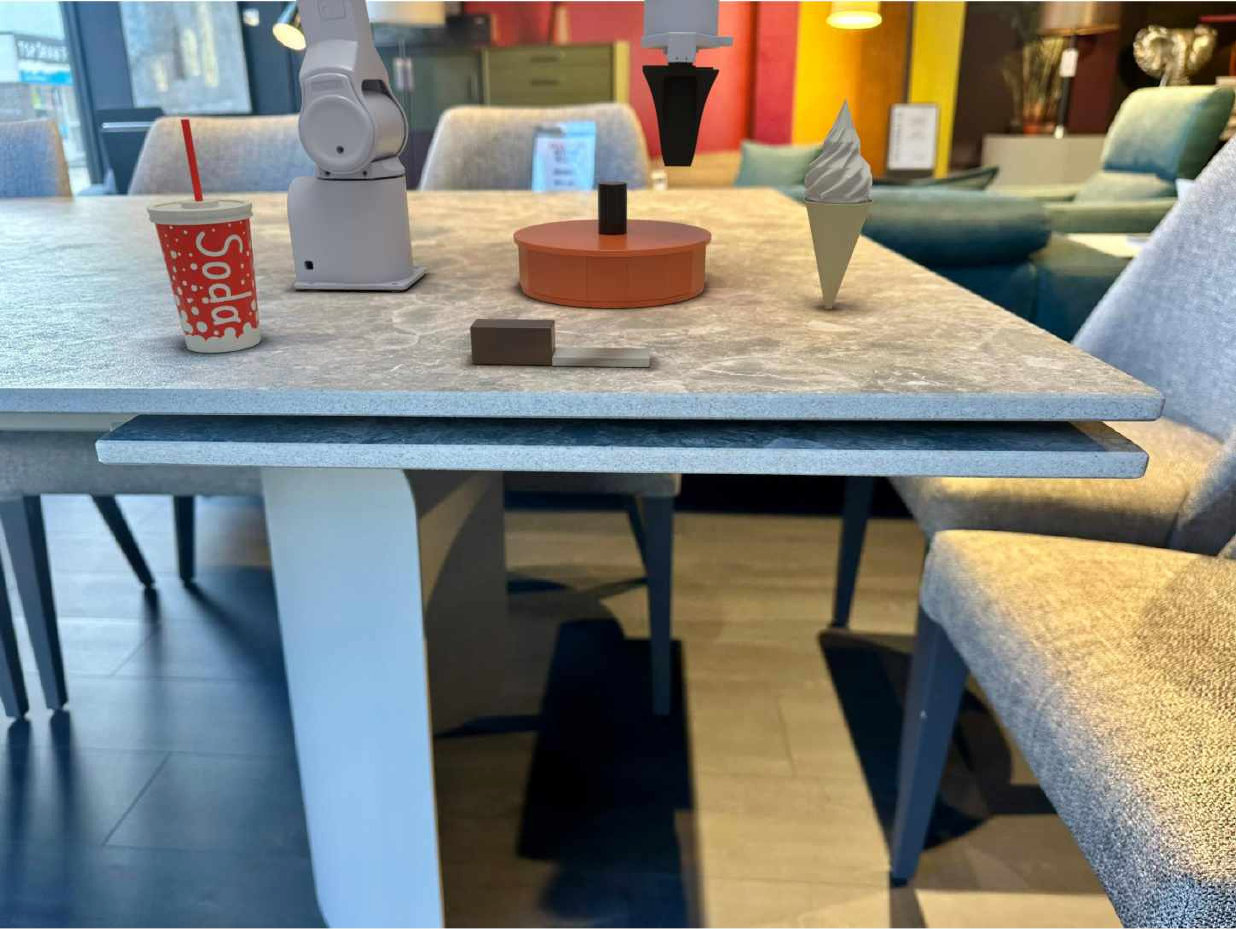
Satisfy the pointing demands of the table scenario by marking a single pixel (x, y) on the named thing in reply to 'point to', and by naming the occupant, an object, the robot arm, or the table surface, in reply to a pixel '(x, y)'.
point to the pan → (612, 278)
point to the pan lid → (612, 232)
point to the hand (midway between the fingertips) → (676, 162)
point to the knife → (541, 346)
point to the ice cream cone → (837, 202)
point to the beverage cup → (209, 265)
